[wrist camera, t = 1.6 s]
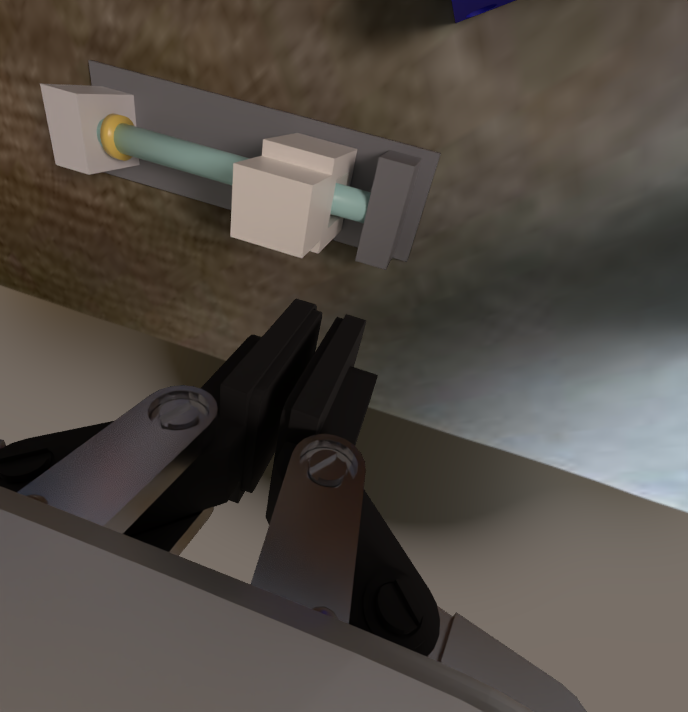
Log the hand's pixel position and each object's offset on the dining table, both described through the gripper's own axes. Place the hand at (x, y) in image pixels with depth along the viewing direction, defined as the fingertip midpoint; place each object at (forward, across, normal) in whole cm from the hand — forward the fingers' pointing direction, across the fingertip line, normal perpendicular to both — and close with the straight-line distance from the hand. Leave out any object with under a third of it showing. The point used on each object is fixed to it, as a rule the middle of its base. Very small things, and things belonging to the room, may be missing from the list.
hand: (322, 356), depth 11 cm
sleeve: (+19, +6, 0) cm, 19 cm away
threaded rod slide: (+19, +11, 0) cm, 22 cm away
